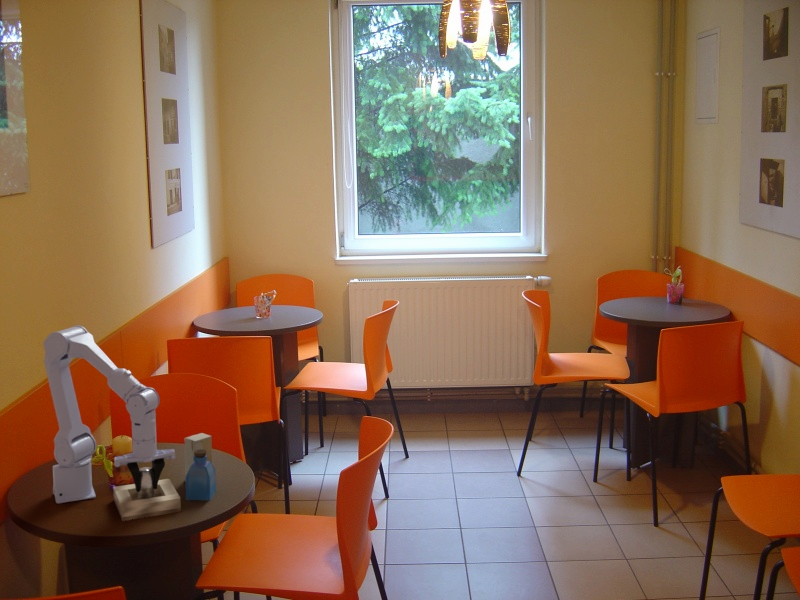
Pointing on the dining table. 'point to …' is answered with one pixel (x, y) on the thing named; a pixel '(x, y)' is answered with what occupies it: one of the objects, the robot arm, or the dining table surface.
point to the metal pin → (146, 483)
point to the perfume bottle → (200, 478)
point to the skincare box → (197, 448)
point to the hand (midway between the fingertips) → (146, 489)
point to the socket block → (146, 501)
